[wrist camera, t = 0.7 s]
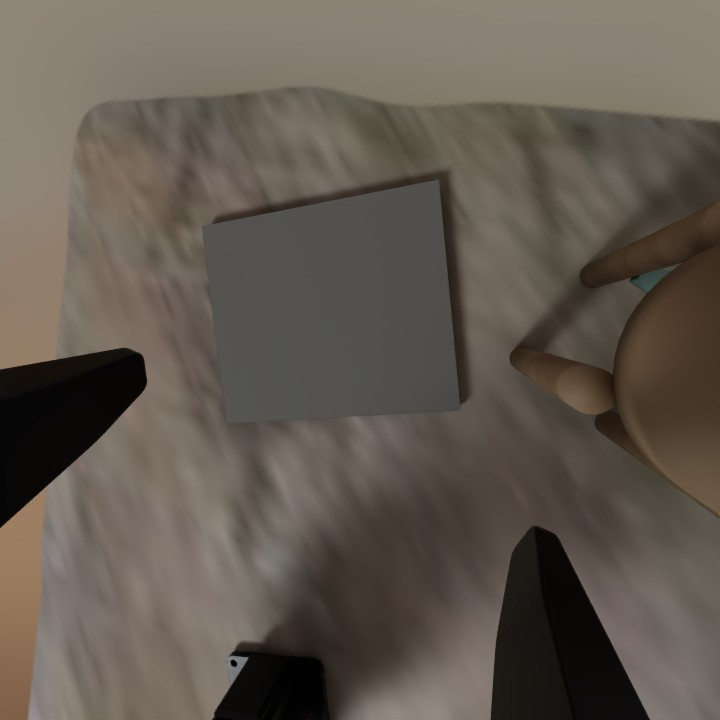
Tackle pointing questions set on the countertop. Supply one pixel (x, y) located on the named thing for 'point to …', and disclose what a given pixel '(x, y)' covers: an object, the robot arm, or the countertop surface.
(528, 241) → the countertop surface
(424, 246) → the mat
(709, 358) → the stool
